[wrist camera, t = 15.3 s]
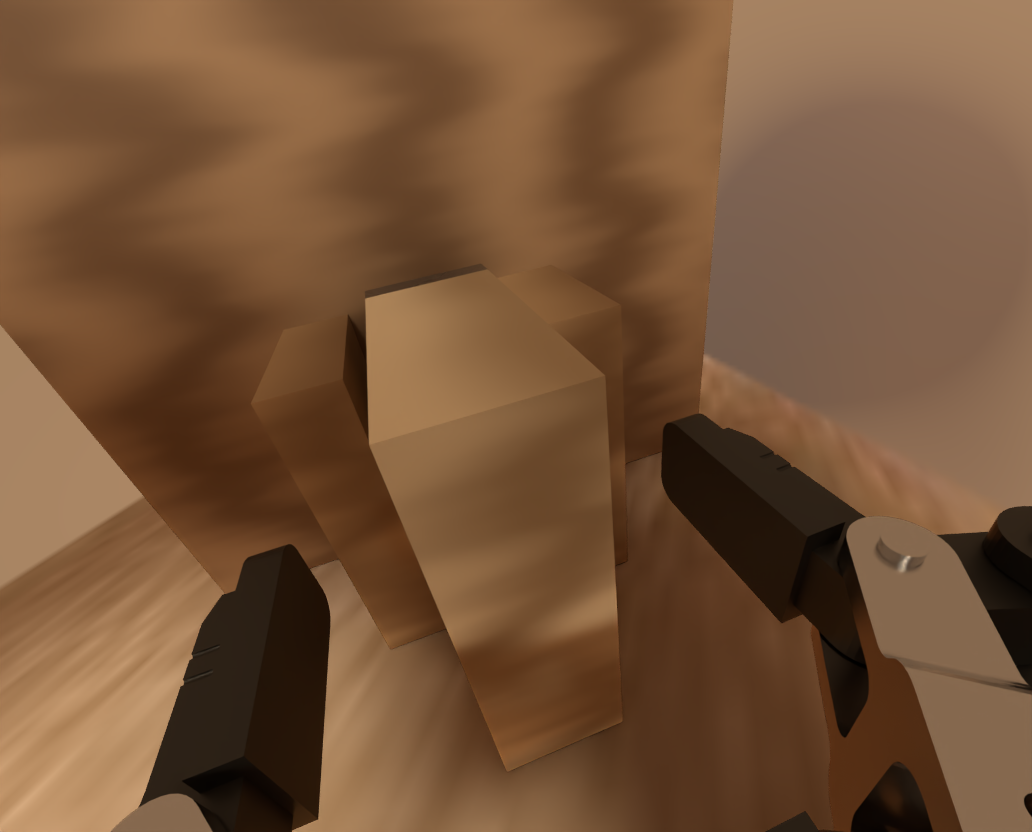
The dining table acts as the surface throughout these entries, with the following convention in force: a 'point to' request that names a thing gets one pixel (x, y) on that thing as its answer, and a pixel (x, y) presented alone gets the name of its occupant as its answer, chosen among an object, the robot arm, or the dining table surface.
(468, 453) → the rail end
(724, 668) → the dining table surface
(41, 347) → the zigzag wooden panel
